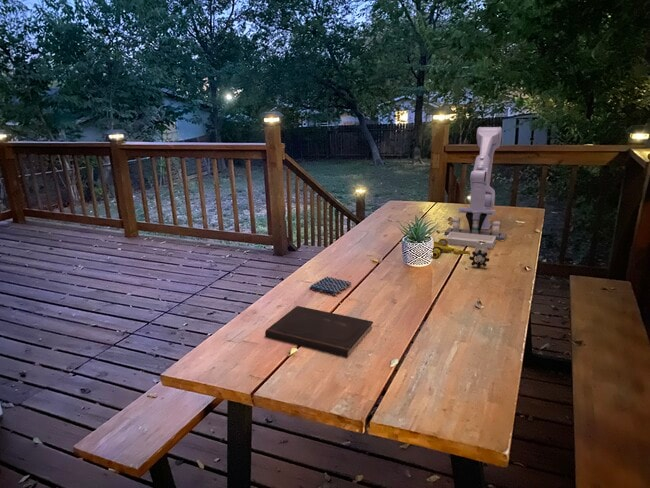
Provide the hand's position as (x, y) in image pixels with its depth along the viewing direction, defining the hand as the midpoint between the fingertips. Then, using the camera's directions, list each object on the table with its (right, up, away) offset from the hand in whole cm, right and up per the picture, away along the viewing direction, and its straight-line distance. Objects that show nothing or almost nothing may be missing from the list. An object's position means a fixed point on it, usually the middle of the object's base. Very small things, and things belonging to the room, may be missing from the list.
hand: (475, 230), depth 192 cm
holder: (0, -2, +1) cm, 2 cm away
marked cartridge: (0, -2, +1) cm, 2 cm away
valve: (-8, -13, -30) cm, 33 cm away
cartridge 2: (+7, -3, -3) cm, 8 cm away
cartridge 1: (-7, -1, +4) cm, 8 cm away
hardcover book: (-65, -29, -75) cm, 103 cm away
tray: (-5, -5, -9) cm, 11 cm away
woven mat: (-62, -20, -48) cm, 81 cm away
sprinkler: (-19, -10, -19) cm, 28 cm away
